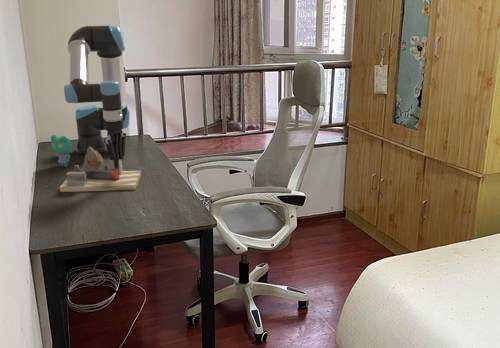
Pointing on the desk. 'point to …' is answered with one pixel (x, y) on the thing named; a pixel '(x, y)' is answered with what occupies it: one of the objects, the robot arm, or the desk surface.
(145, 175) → the desk surface
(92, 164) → the rock
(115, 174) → the lever
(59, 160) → the toy
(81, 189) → the board
